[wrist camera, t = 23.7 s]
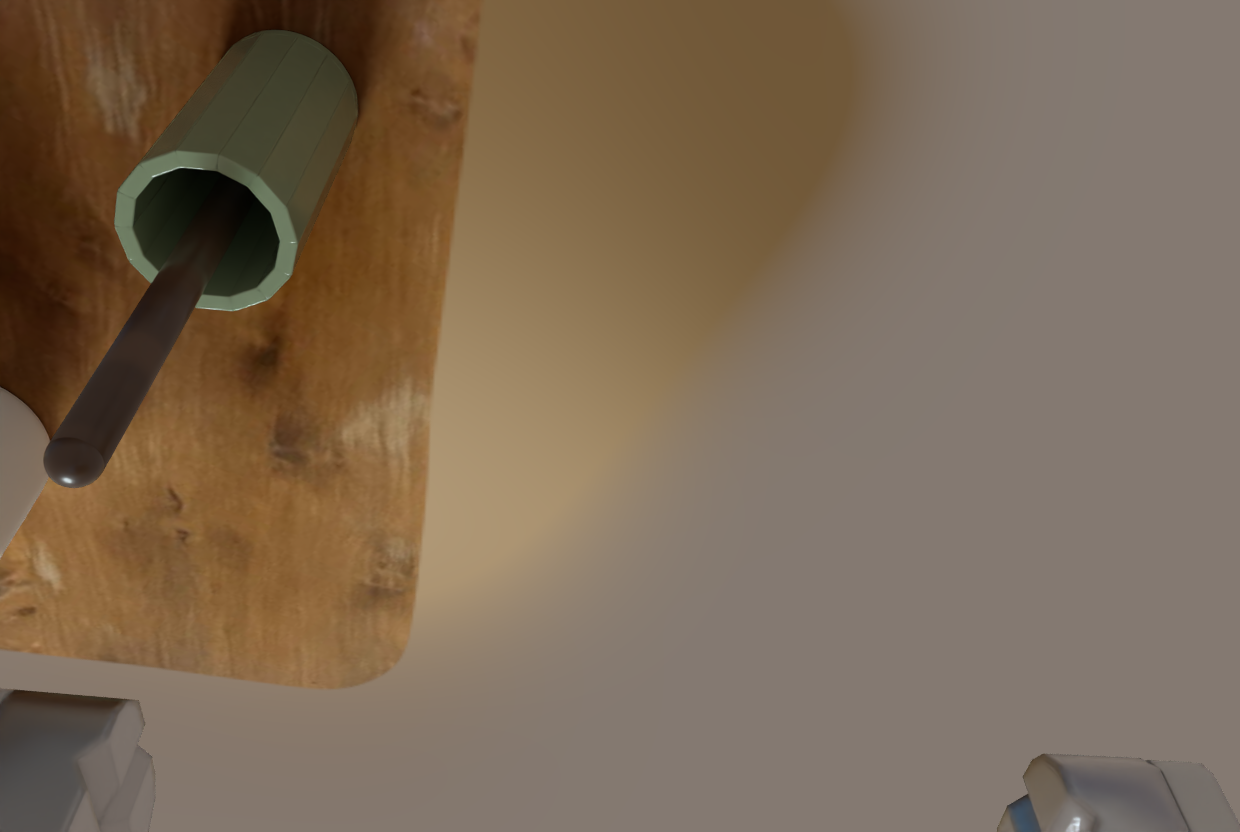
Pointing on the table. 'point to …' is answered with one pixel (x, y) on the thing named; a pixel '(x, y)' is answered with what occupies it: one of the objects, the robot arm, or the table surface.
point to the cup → (19, 464)
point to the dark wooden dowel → (145, 341)
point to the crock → (245, 163)
